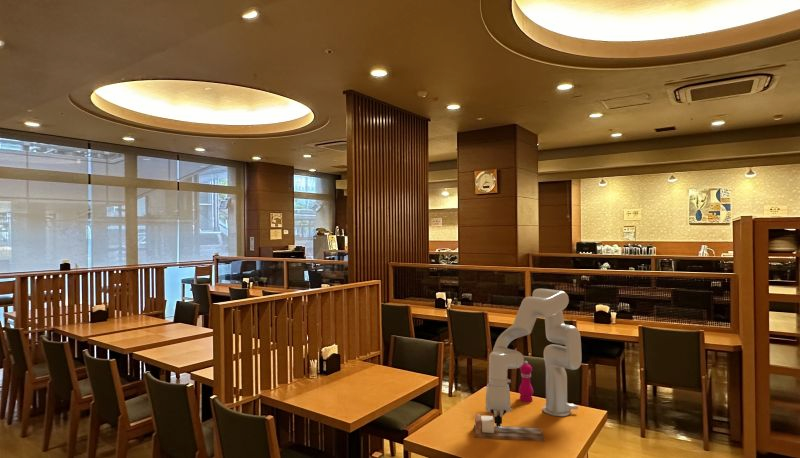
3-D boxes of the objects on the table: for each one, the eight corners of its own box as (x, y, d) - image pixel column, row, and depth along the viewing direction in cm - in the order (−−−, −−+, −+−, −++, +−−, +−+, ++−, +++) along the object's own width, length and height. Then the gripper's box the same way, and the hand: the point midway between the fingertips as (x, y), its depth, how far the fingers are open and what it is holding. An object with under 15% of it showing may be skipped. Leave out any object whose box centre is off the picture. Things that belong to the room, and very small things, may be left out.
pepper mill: (534, 403, 227) (533, 363, 228) (519, 402, 229) (519, 362, 229) (532, 398, 234) (532, 359, 235) (518, 397, 236) (518, 358, 236)
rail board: (539, 430, 195) (539, 416, 195) (544, 441, 185) (544, 425, 185) (474, 427, 198) (473, 413, 198) (475, 437, 188) (475, 422, 188)
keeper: (492, 426, 196) (492, 416, 196) (494, 433, 189) (494, 422, 189) (480, 425, 196) (480, 415, 196) (481, 432, 189) (481, 422, 189)
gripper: (514, 379, 195) (514, 422, 195) (479, 378, 197) (479, 420, 197) (517, 385, 188) (517, 429, 187) (480, 383, 189) (480, 428, 189)
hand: (498, 425), depth 192 cm, fingers closed
